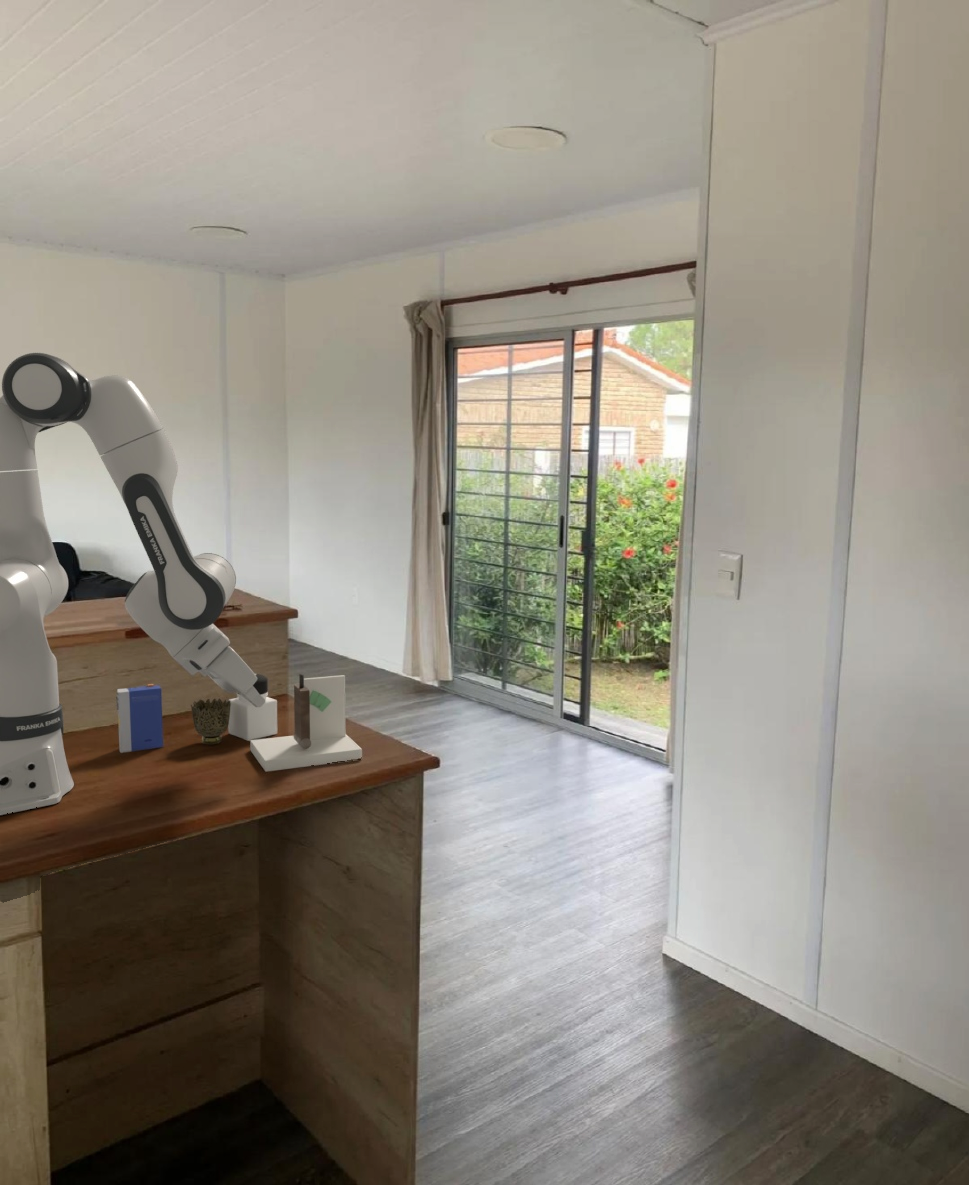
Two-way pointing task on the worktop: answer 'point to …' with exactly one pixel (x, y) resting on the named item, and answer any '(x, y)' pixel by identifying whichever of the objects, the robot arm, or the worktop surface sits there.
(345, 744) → the stand
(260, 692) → the medicine bottle
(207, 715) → the cup
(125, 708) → the walkman
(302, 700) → the lever
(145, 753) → the worktop surface
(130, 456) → the robot arm
